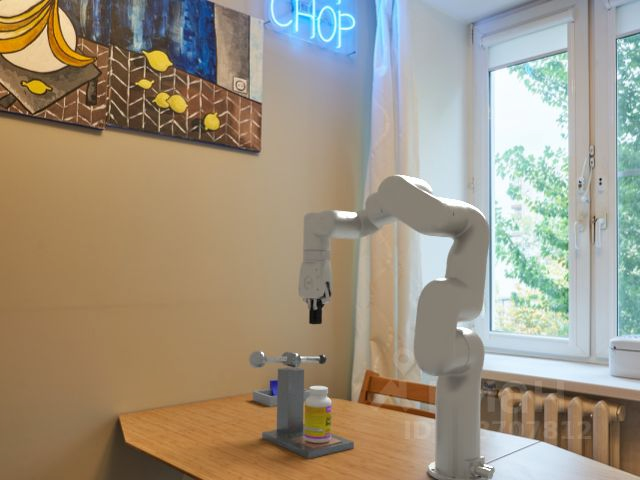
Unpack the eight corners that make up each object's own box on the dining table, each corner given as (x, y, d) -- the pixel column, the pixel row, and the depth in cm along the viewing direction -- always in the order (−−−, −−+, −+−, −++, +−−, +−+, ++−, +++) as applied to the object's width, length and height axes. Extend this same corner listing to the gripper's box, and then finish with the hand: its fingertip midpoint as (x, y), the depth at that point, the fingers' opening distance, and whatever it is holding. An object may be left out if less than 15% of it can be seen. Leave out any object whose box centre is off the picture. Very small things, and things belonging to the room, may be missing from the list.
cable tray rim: (311, 399, 192) (311, 391, 192) (270, 406, 182) (270, 397, 182) (293, 394, 200) (293, 385, 201) (252, 400, 190) (252, 391, 190)
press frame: (353, 448, 140) (354, 376, 141) (308, 458, 132) (309, 382, 133) (305, 429, 156) (306, 365, 157) (262, 438, 147) (263, 370, 148)
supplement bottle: (328, 445, 137) (329, 391, 138) (301, 442, 138) (302, 389, 139) (333, 437, 143) (333, 385, 144) (307, 435, 145) (308, 384, 145)
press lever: (329, 368, 156) (331, 352, 156) (254, 369, 141) (255, 351, 141) (320, 366, 159) (321, 350, 160) (245, 367, 144) (246, 349, 145)
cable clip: (295, 402, 186) (295, 384, 187) (282, 404, 185) (282, 385, 185) (282, 397, 197) (281, 379, 198) (269, 398, 195) (269, 380, 196)
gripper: (289, 257, 161) (288, 322, 160) (322, 256, 149) (321, 326, 148) (310, 258, 165) (309, 321, 164) (344, 257, 154) (343, 325, 153)
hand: (315, 323), depth 156 cm, fingers closed
